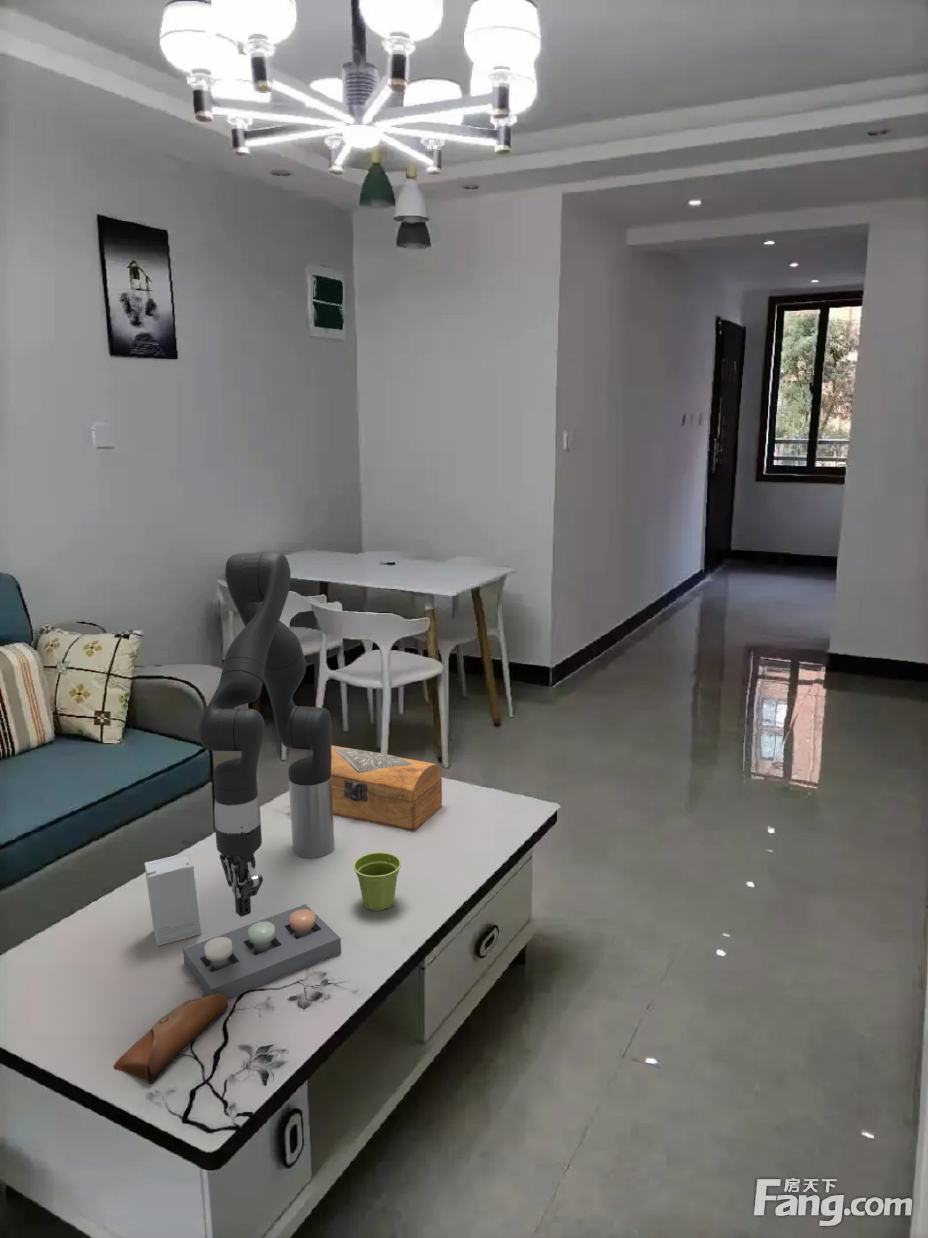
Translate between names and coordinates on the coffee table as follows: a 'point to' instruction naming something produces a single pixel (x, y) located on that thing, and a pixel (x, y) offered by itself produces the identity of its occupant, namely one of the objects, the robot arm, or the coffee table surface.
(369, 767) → the wooden box
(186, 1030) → the sunglasses case
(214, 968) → the ivory button
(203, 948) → the console
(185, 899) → the skincare box
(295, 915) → the terracotta button
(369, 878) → the plant pot
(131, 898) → the coffee table surface
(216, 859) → the coffee table surface
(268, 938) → the sage button
